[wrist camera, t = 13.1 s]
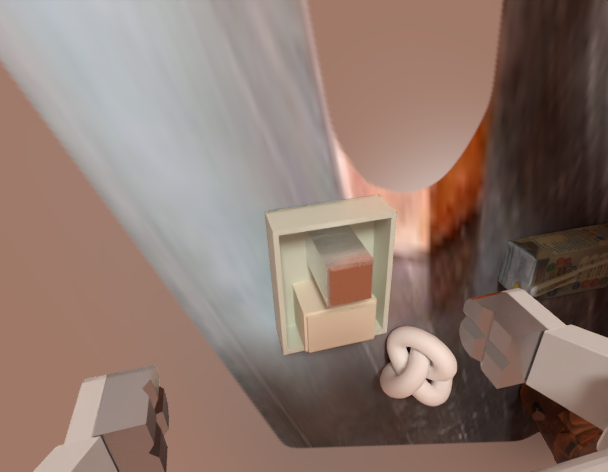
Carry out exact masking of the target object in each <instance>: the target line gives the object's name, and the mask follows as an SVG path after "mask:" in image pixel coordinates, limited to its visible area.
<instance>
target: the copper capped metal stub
mask: <svg viewBox="0 0 608 472" xmlns="http://www.w3.org/2000/svg"><path fill="white" fill-rule="evenodd" d="M305 241H306V261H307V264H308V266H309V268H310V270H311V272H312V274H313V276H314V278H315V281H316V283H317V285H318V287H319V289H320V291H321V293H322V296H323V298H324V300H325V302H326V304H327V306H328V307H329V306H336V305H341V304H346V303H351V302H356V301H361V300H366V299H370V298H372V287H373V268H374V259H373V257H372V256H371V255H370V253H369V252H368V251H367V249H366V248H365V247H364V245H363V244H362V242H361V241H360V240H359V238H358V237H357V236H356V234H355V233H354V232H353V230H352V229H351V228H350V226H349V225H343V226H336V227H330V228H324V229H317V230H311V231H305Z"/></svg>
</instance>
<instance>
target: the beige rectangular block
mask: <svg viewBox="0 0 608 472" xmlns="http://www.w3.org/2000/svg"><path fill="white" fill-rule="evenodd" d="M292 288H293V303H294V318H295V322H296V325H297V328H298V331H299V334H300V337H301V340H302V342H303V345H304V348H305V351H309V353H311V352H315V351H320V350H324V349H329V348H333V347H338V346H343V345H347V344H352V343H356V342H361V341H365V340H370V339H374V333H375V318H376V303H377V299H376V298H375V296H374V295H373V293H372V298H370V299H366V300H361V301H356V302H351V303H346V304H341V305H336V306H329V307H328V306H327V304H326V302H325V300H324V298H323V296H322V293H321V291H320V289H319V287H318V285H317V283H316V281H315V280H310V281H305V282H299V283H294V284H292Z"/></svg>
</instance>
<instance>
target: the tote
mask: <svg viewBox="0 0 608 472" xmlns="http://www.w3.org/2000/svg"><path fill="white" fill-rule="evenodd" d="M265 218H266V228H267V238H268V248H269V258H270V268H271V279H272V289H273V299H274V309H275V319H276V329H277V332H278V336H279V339H280V343H281V347H282V350H283V354H284V355H287V354H291V353H296V352H300V351H305V348H304V345H303V342H302V340H301V337H300V334H299V331H298V328H297V325H296V322H295V318H294V303H293V288H292V284H294V283H299V282H305V281H310V280H315V278H314V276H313V274H312V272H311V270H310V268H309V266H308V264H307V261H306V241H305V231H311V230H317V229H324V228H330V227H336V226H343V225H349V226H350V228H351V229H352V230H353V232H354V233H355V234H356V236H357V237H358V238H359V240H360V241H361V242H362V244H363V245H364V247H365V248H366V249H367V251H368V252H369V253H370V255H371V256H372V257H373V259H374V268H373V287H372V293H373V295H374V296H375V298H376V299H377V303H376V318H375V333H374V335H378V334H383V333H387V322H388V310H389V299H390V287H391V276H392V264H393V252H394V241H395V229H396V218H397V212H396V211H395V210H394V209H393V208H392V207H391V206H390V205H389V204H388V203H387V202H386V201H385V200H384V199H383V198H382V197H381V196H380V195H379V194H378V195H371V196H365V197H358V198H351V199H344V200H337V201H330V202H323V203H317V204H310V205H303V206H296V207H289V208H282V209H275V210H269V211H265Z"/></svg>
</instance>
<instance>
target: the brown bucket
mask: <svg viewBox="0 0 608 472" xmlns="http://www.w3.org/2000/svg"><path fill="white" fill-rule="evenodd" d="M520 398H521V400H522V402H523V404H524V405H525V407H526V409H527V411H528V412H529V414H530V415H531V417H532V419H533V421H534V422H535V424H536V426H537V427H538V429H539V431H540V433H541V434H542V436H543V438H544V440H545V441H546V443H547V445H548V446H549V448H550V450H551V452H552V454H553V456H554V459H555V461H556V463H557V464H559V463H562V462H565V461H569V460H572V459H575V458H578V457H582V456H585V455H588V454H591V453H594V452H598V451H597V443H598V441H599V439H600V437H601V435H602V433H603V432H604V431H603V430H601V429H600V428H598V427H596V426H595V425H593V424H591V423H590V422H588V421H587V420H585V419H583V418H582V417H580V416H578V415H577V414H575V413H573V412H572V411H570V410H568V409H567V408H565V407H563V406H562V405H560V404H558V403H557V402H555V401H553V400H552V399H550V398H548V397H547V396H545V395H543V394H542V393H540V392H538V391H537V390H535V389H533V388H532V387H530V386H528V385H527V384H526V382H525V383H523V384H522V386H521V389H520Z"/></svg>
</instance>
